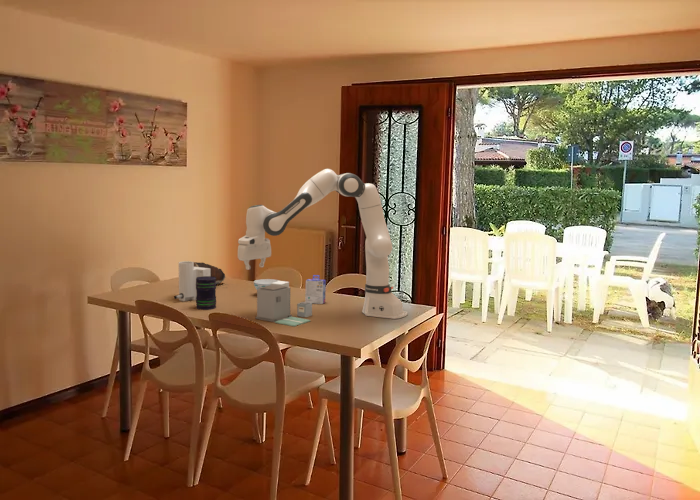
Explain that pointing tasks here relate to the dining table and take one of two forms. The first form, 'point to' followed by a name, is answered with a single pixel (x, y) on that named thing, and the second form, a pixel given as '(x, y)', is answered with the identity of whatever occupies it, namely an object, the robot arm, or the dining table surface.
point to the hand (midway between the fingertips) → (254, 268)
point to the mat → (292, 321)
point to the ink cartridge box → (315, 290)
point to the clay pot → (212, 271)
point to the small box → (281, 283)
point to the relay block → (304, 309)
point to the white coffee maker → (189, 280)
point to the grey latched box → (273, 303)
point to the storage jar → (206, 292)
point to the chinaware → (263, 283)
